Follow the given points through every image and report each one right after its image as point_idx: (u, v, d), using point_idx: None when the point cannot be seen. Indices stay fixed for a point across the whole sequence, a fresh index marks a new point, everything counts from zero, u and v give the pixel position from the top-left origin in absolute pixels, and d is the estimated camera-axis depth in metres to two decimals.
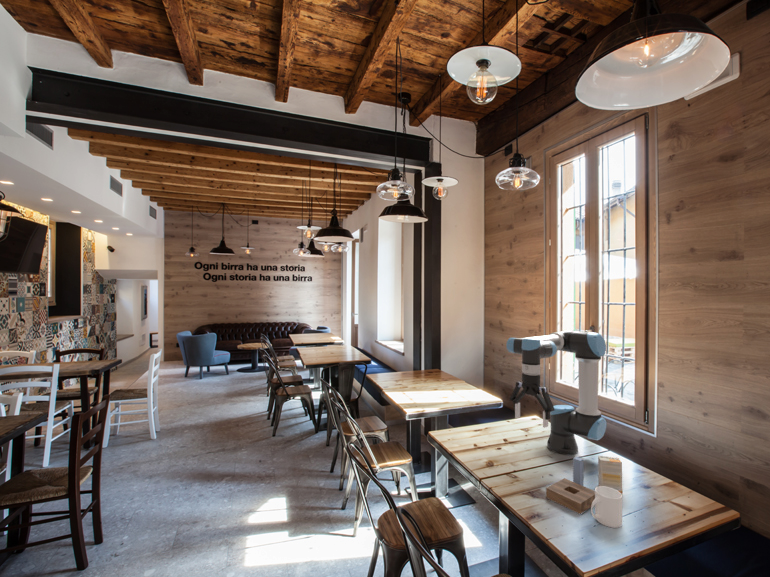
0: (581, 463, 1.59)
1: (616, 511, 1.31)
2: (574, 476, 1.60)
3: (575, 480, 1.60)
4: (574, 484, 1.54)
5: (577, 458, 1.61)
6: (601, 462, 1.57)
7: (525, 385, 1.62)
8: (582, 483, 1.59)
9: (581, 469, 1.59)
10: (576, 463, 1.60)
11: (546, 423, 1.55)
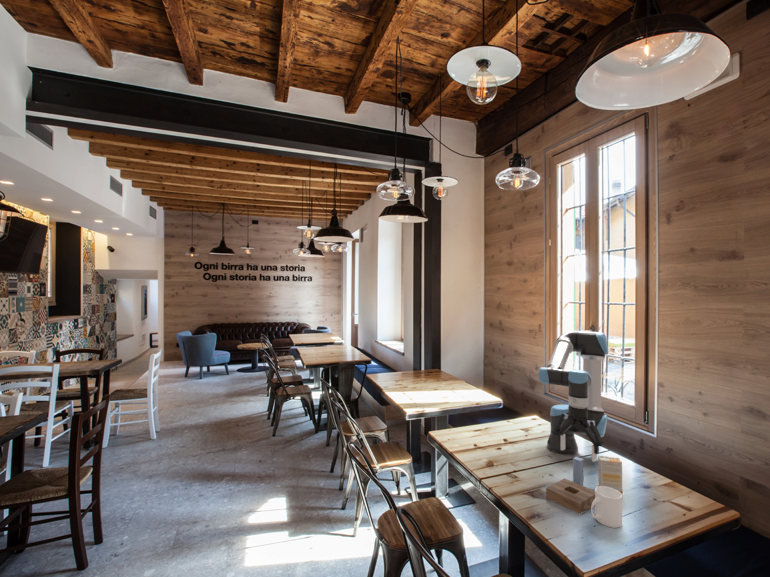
0: (581, 463, 1.59)
1: (616, 511, 1.31)
2: (574, 476, 1.60)
3: (575, 480, 1.60)
4: (574, 484, 1.54)
5: (577, 458, 1.61)
6: (601, 462, 1.57)
7: (572, 417, 1.62)
8: (582, 483, 1.59)
9: (581, 469, 1.59)
10: (576, 463, 1.60)
11: (595, 457, 1.54)
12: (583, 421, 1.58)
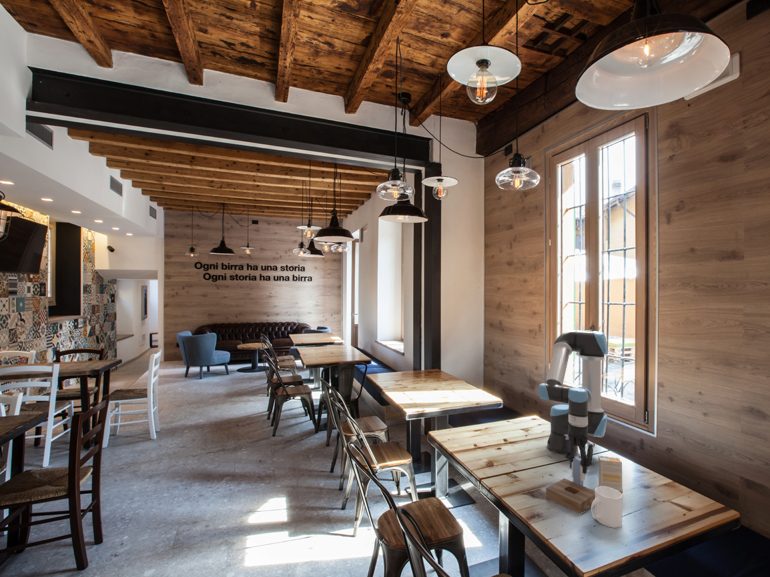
0: (581, 463, 1.59)
1: (616, 511, 1.31)
2: (574, 476, 1.60)
3: (575, 480, 1.60)
4: (574, 484, 1.54)
5: (577, 458, 1.61)
6: (601, 462, 1.57)
7: (571, 434, 1.62)
8: (582, 483, 1.59)
9: None
10: (576, 463, 1.60)
11: (583, 476, 1.59)
12: (583, 440, 1.58)
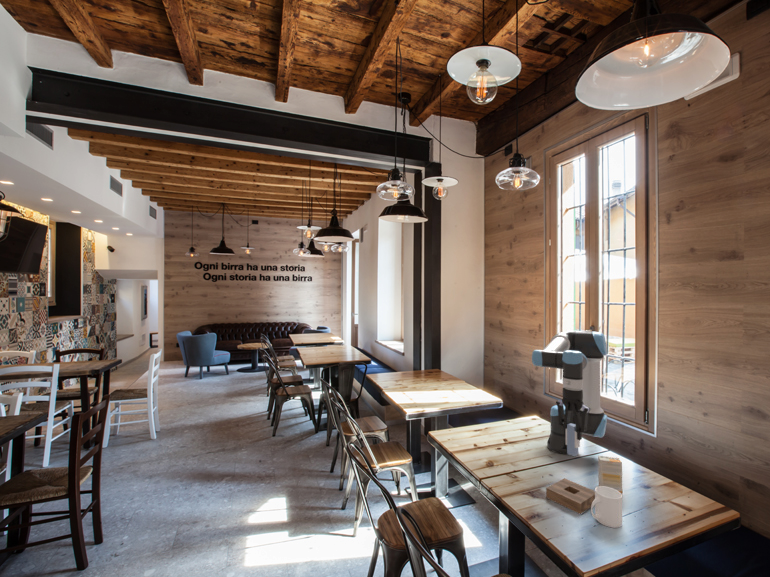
0: (575, 429, 1.50)
1: (616, 511, 1.32)
2: (568, 443, 1.51)
3: (569, 447, 1.51)
4: (574, 484, 1.54)
5: (571, 424, 1.52)
6: (601, 462, 1.57)
7: (565, 399, 1.53)
8: (576, 451, 1.50)
9: None
10: (570, 429, 1.51)
11: (578, 443, 1.50)
12: (578, 404, 1.49)
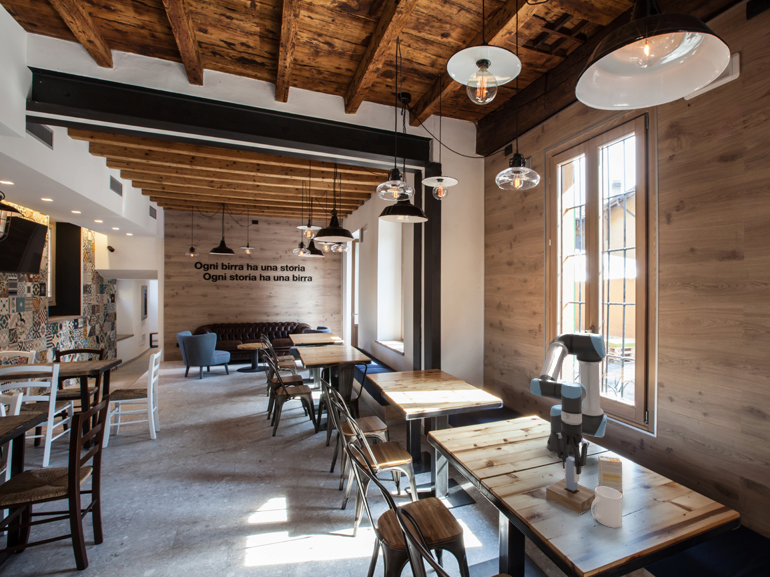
0: None
1: (616, 511, 1.31)
2: (567, 477, 1.50)
3: (568, 482, 1.49)
4: None
5: (570, 458, 1.50)
6: (601, 462, 1.57)
7: (564, 432, 1.51)
8: (576, 485, 1.49)
9: None
10: (569, 463, 1.49)
11: (577, 478, 1.48)
12: (577, 438, 1.47)
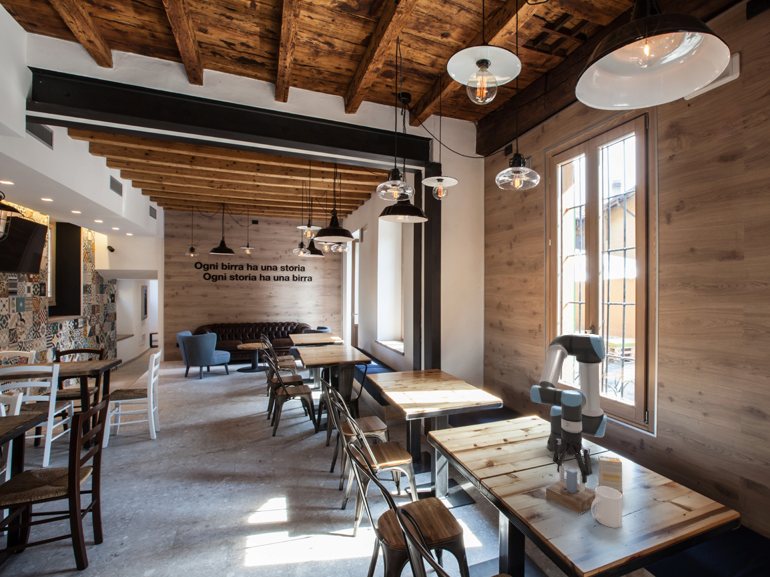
0: (575, 475, 1.48)
1: (616, 511, 1.31)
2: (567, 489, 1.50)
3: None
4: None
5: (571, 470, 1.50)
6: (601, 462, 1.57)
7: (565, 441, 1.51)
8: None
9: (575, 482, 1.48)
10: (569, 475, 1.49)
11: (583, 487, 1.46)
12: (577, 446, 1.47)
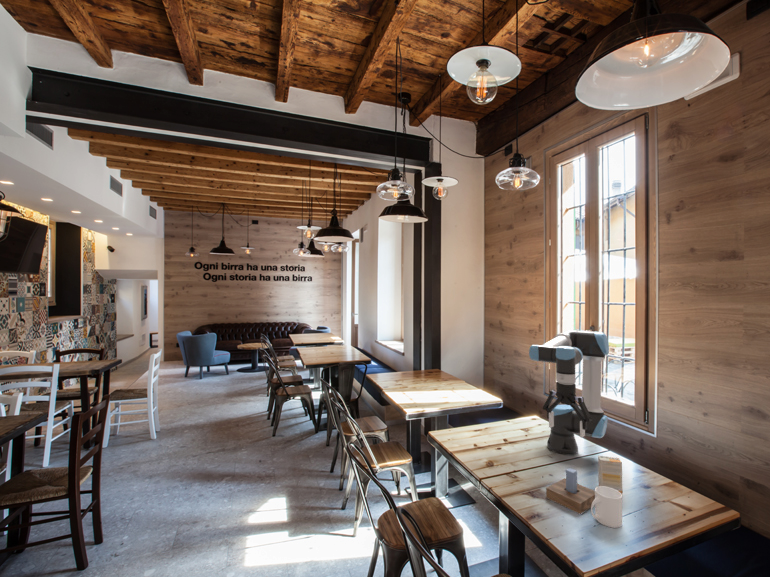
0: (574, 475, 1.49)
1: (616, 511, 1.31)
2: (567, 489, 1.50)
3: None
4: None
5: (570, 470, 1.50)
6: (601, 462, 1.57)
7: (560, 394, 1.59)
8: None
9: (574, 481, 1.48)
10: (569, 475, 1.49)
11: (583, 433, 1.53)
12: (571, 397, 1.56)
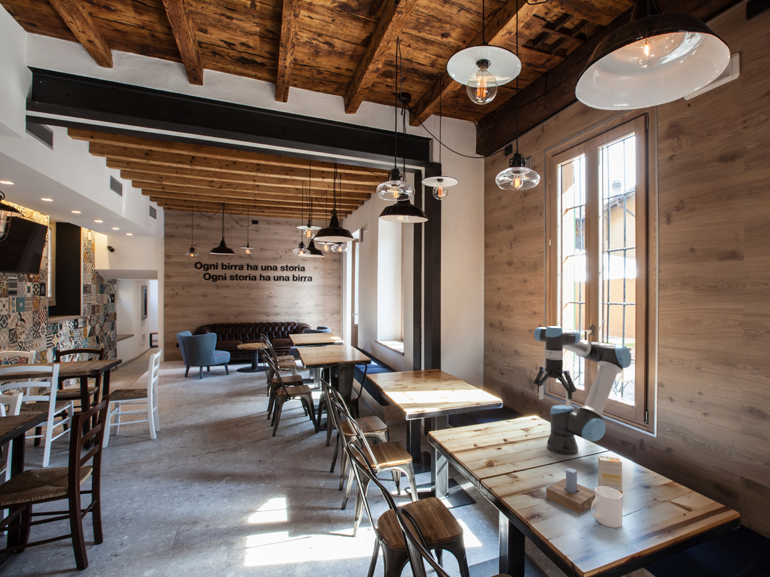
0: (574, 475, 1.49)
1: (616, 511, 1.32)
2: (567, 489, 1.50)
3: None
4: None
5: (570, 470, 1.50)
6: (601, 462, 1.57)
7: (549, 369, 1.78)
8: None
9: (574, 481, 1.48)
10: (569, 475, 1.49)
11: (568, 403, 1.71)
12: (558, 371, 1.74)
